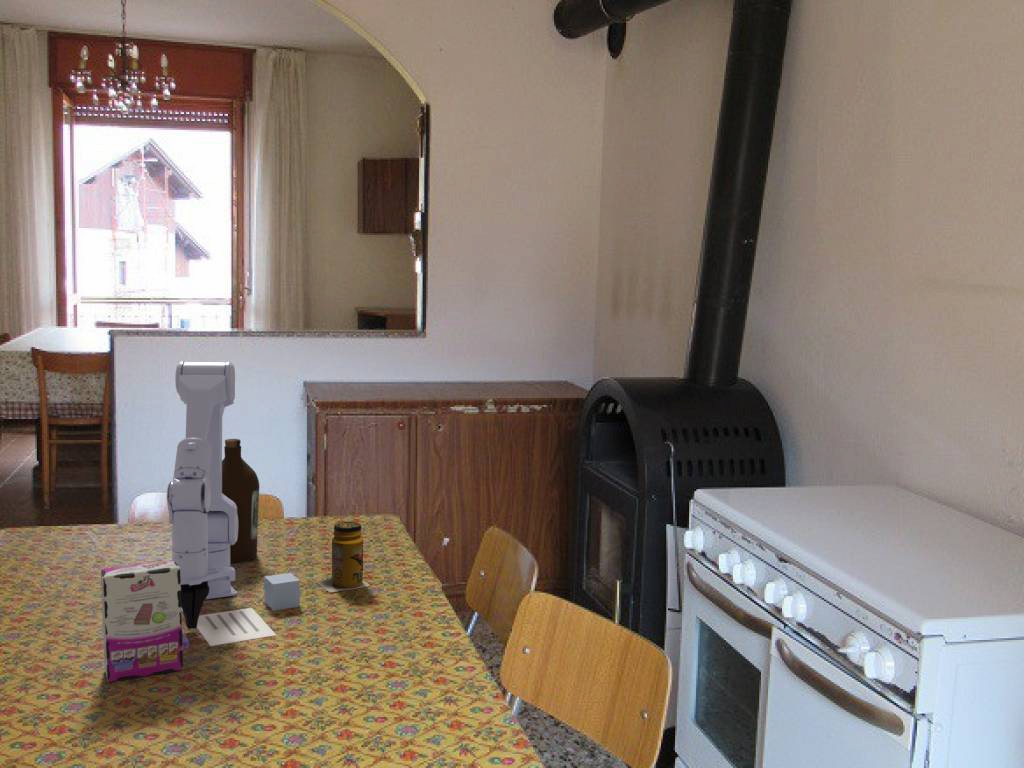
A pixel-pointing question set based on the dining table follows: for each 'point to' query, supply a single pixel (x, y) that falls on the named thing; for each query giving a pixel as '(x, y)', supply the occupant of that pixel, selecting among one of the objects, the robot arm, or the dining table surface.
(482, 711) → the dining table surface
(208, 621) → the letter
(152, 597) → the candy bar box
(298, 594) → the cube
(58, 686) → the dining table surface
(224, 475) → the olive oil
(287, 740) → the dining table surface
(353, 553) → the condiment
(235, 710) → the dining table surface
